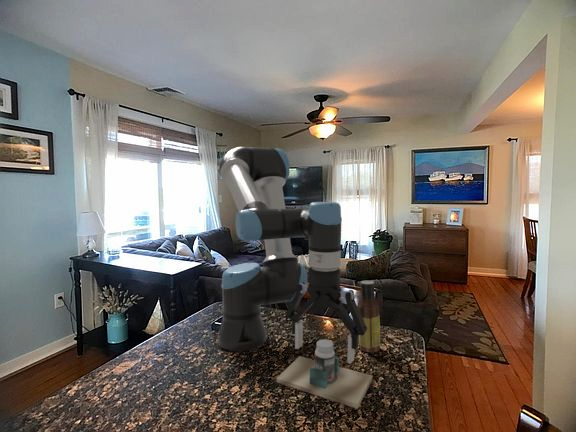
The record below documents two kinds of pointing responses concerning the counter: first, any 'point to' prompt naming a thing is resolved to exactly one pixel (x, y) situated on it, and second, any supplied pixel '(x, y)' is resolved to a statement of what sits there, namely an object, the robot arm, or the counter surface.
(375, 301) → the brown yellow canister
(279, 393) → the counter surface
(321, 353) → the pill bottle
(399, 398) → the counter surface
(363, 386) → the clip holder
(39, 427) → the counter surface
